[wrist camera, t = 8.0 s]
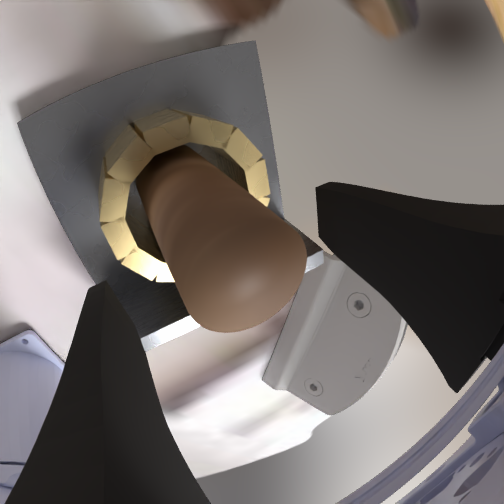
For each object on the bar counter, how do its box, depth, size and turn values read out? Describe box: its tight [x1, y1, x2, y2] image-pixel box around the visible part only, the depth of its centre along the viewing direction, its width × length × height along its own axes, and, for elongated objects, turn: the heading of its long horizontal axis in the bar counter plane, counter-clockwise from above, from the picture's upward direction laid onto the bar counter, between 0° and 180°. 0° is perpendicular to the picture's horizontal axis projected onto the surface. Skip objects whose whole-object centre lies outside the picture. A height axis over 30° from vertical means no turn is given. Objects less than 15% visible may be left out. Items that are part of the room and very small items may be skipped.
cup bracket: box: [17, 41, 324, 352], centre depth 14 cm, size 12×12×5 cm
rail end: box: [135, 144, 307, 333], centre depth 11 cm, size 4×4×9 cm
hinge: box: [262, 251, 408, 415], centre depth 26 cm, size 17×5×10 cm, turn 164°
